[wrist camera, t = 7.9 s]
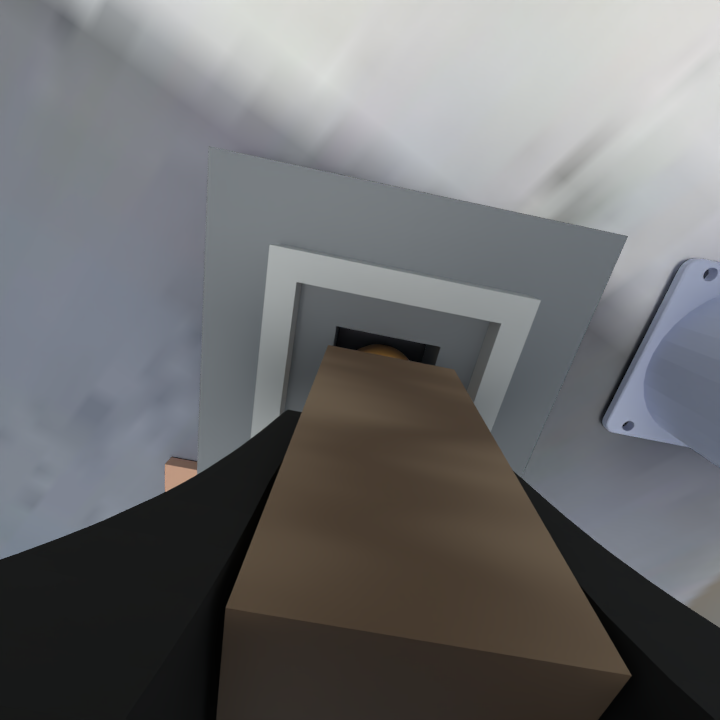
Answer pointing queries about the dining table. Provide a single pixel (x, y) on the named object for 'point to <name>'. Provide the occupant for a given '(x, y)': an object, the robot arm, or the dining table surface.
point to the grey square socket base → (384, 295)
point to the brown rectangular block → (406, 570)
